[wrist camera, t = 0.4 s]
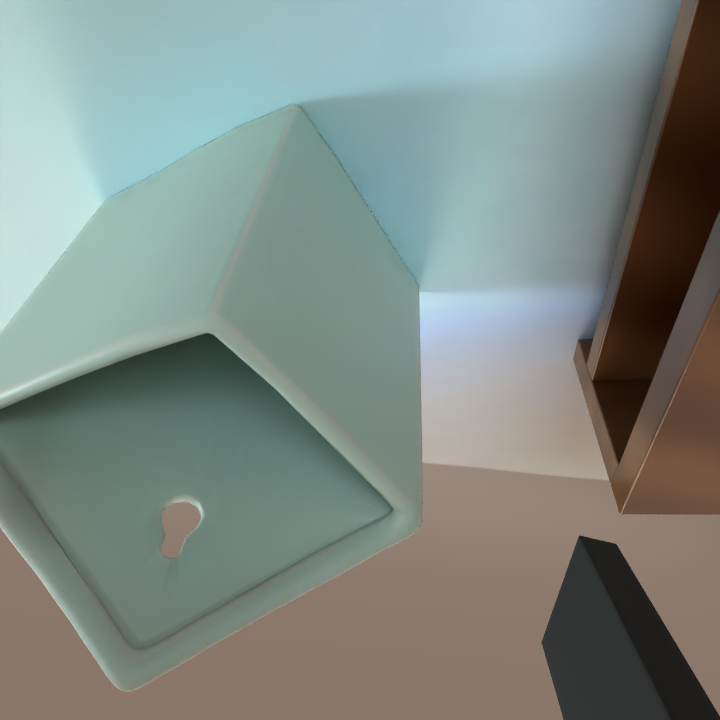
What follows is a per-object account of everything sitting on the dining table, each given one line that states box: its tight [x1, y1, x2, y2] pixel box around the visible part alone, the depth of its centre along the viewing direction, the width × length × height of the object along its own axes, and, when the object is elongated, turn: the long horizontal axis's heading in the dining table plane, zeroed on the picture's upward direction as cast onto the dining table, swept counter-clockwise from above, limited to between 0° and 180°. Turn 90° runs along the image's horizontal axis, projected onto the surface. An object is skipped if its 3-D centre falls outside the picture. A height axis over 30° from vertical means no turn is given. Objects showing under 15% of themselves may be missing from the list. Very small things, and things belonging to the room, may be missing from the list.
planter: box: [0, 104, 423, 692], centre depth 18 cm, size 16×8×20 cm, turn 74°
